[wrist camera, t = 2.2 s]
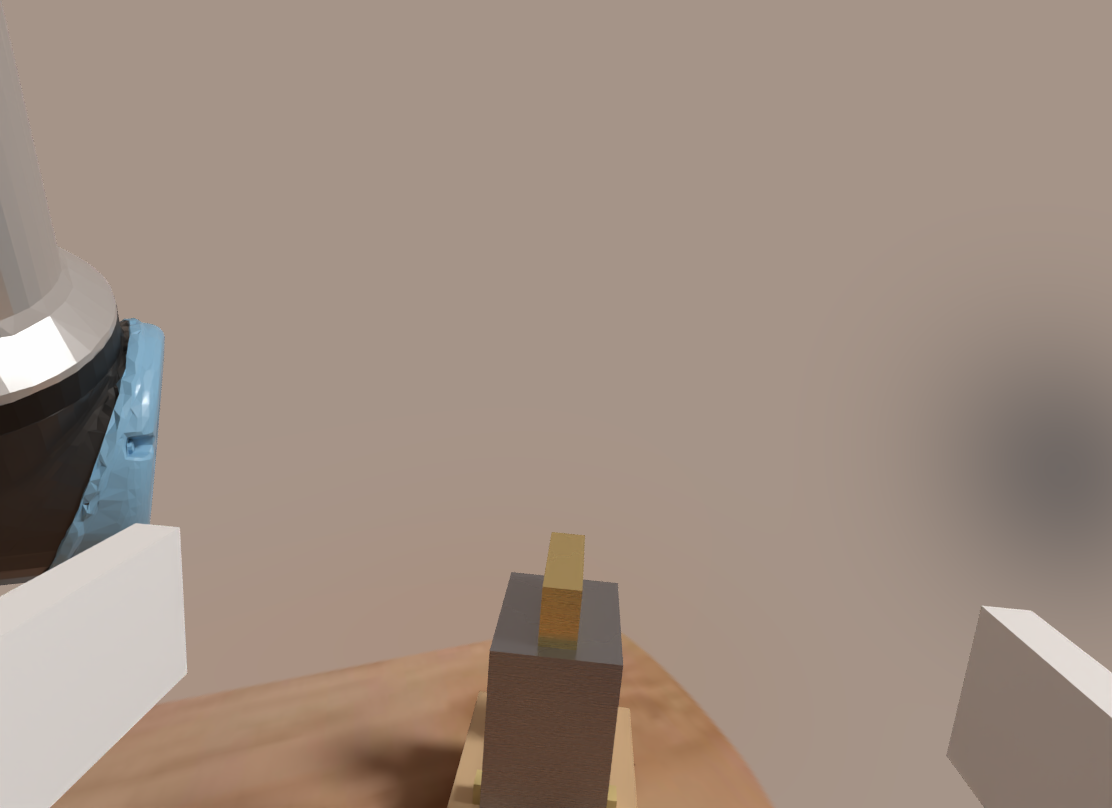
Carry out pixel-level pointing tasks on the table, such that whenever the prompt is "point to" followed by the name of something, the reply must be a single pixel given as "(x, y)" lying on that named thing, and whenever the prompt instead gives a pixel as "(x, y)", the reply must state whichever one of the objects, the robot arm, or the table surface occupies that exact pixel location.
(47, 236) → the robot arm
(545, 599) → the grey metal pillar
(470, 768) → the body
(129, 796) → the table surface
